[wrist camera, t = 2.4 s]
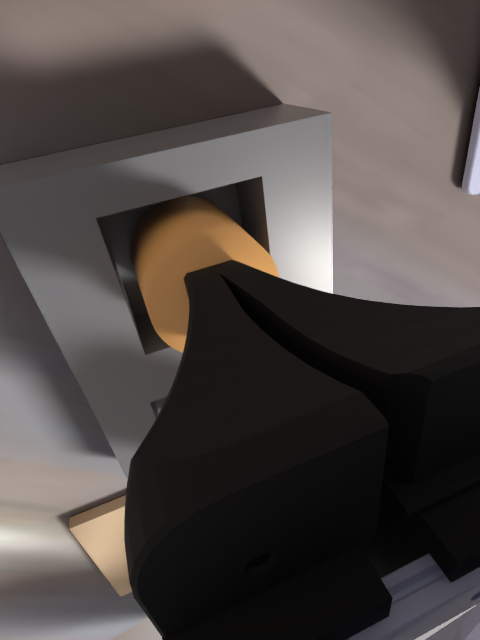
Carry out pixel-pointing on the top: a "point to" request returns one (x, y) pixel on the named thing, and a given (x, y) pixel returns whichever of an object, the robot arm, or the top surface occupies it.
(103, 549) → the mat
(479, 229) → the top surface
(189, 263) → the orange cylinder
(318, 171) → the housing
